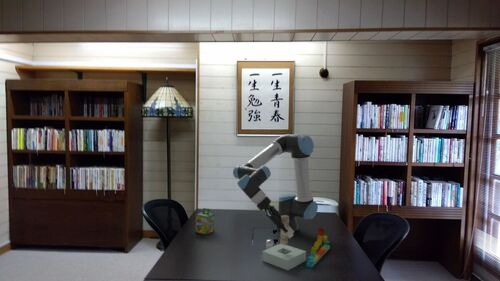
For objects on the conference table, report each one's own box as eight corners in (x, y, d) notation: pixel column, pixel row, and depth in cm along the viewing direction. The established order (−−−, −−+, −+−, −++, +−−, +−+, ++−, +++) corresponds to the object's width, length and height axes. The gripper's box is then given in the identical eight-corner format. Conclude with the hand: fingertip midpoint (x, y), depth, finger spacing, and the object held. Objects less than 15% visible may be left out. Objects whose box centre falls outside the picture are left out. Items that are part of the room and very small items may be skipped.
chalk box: (195, 232, 211) (195, 209, 210) (202, 228, 220) (202, 206, 219) (207, 235, 208) (208, 211, 207) (214, 230, 216) (215, 208, 215)
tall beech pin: (283, 241, 175) (284, 214, 174) (289, 243, 172) (290, 216, 171) (278, 243, 172) (279, 216, 171) (285, 245, 169) (286, 218, 168)
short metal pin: (269, 247, 191) (269, 238, 190) (274, 249, 188) (274, 240, 188) (264, 249, 188) (264, 240, 187) (270, 251, 185) (270, 242, 185)
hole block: (280, 252, 184) (281, 243, 184) (305, 260, 173) (306, 251, 173) (262, 260, 172) (262, 251, 172) (287, 270, 161) (288, 260, 161)
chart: (312, 268, 165) (313, 238, 165) (306, 266, 167) (307, 237, 166) (330, 248, 192) (331, 223, 191) (324, 247, 193) (325, 222, 192)
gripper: (258, 201, 182) (288, 234, 180) (252, 209, 165) (284, 245, 163) (268, 192, 181) (298, 225, 178) (263, 199, 164) (296, 236, 162)
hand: (291, 235), depth 171 cm, fingers closed on tall beech pin, 4 cm apart
